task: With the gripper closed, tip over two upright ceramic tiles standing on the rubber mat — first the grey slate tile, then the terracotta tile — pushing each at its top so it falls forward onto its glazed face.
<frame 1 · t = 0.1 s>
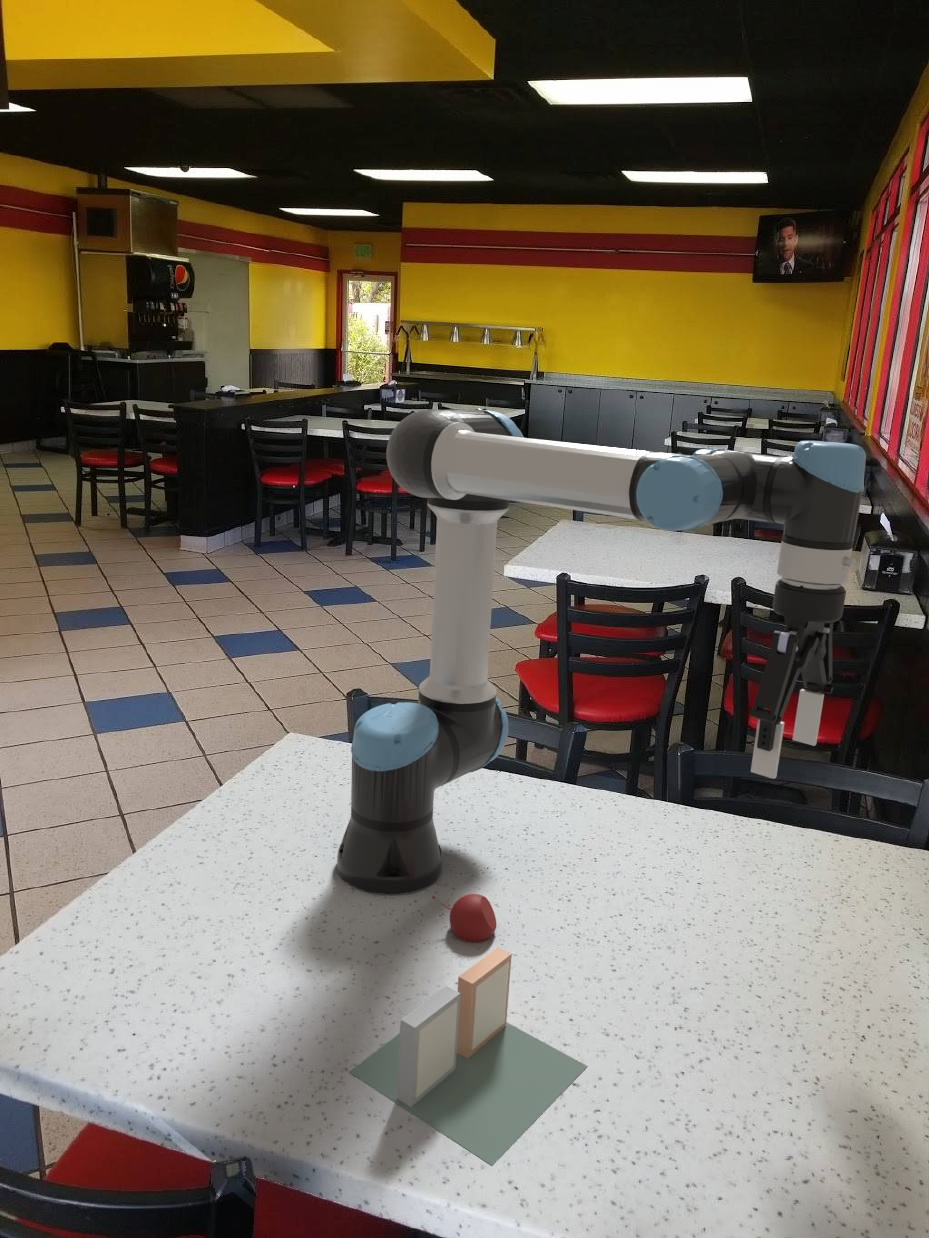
hand: (784, 757, 113), 28 cm above the table, fingers open, 13 cm apart
slate tile: (426, 1083, 96), point 1 cm above the table, touching mat
fruit: (462, 935, 123), on the table
mat: (469, 1073, 99), on the table
terracotta tile: (480, 1037, 103), point 1 cm above the table, touching mat
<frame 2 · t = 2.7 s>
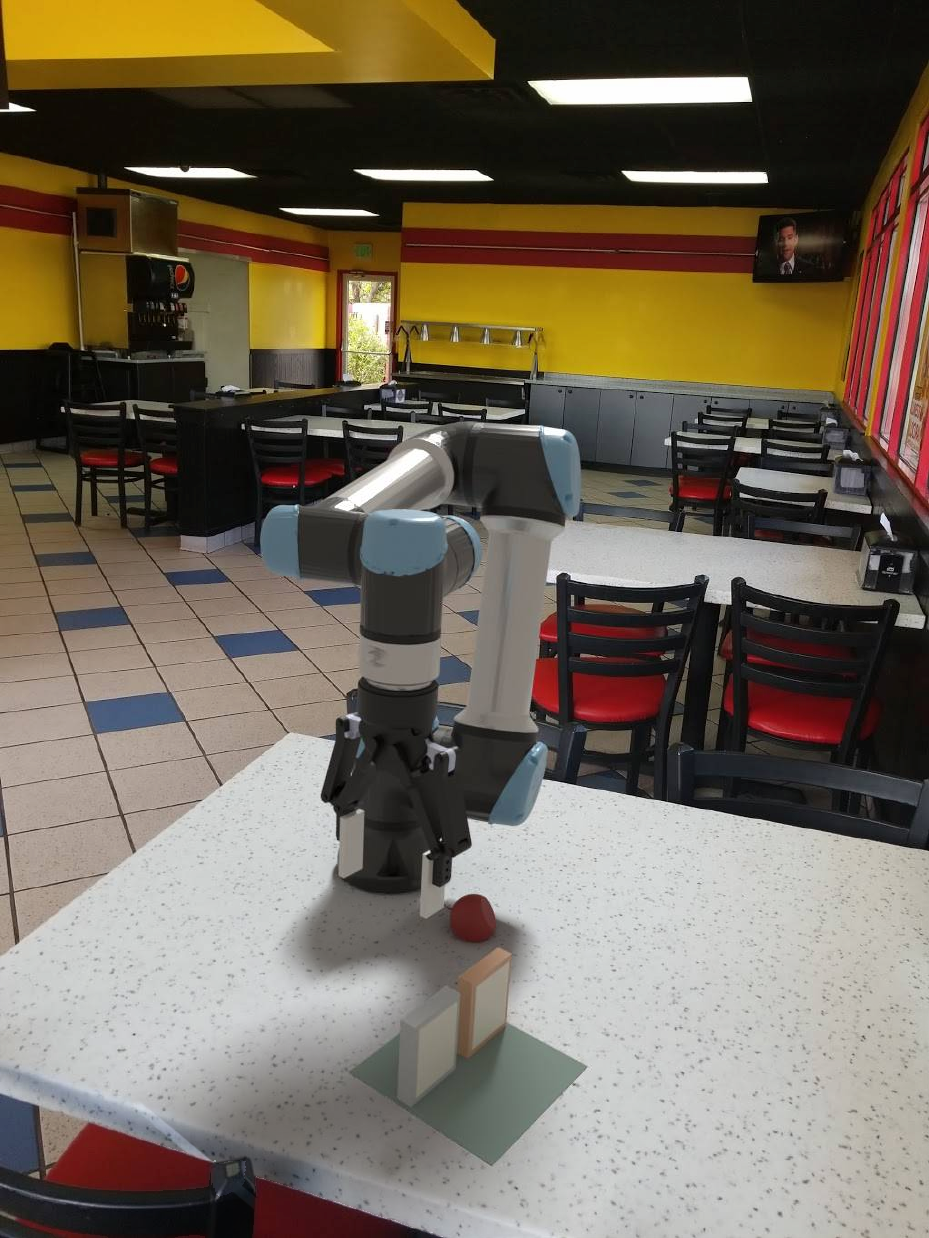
hand: (389, 891, 95), 20 cm above the table, fingers open, 10 cm apart
nothing on the table moved.
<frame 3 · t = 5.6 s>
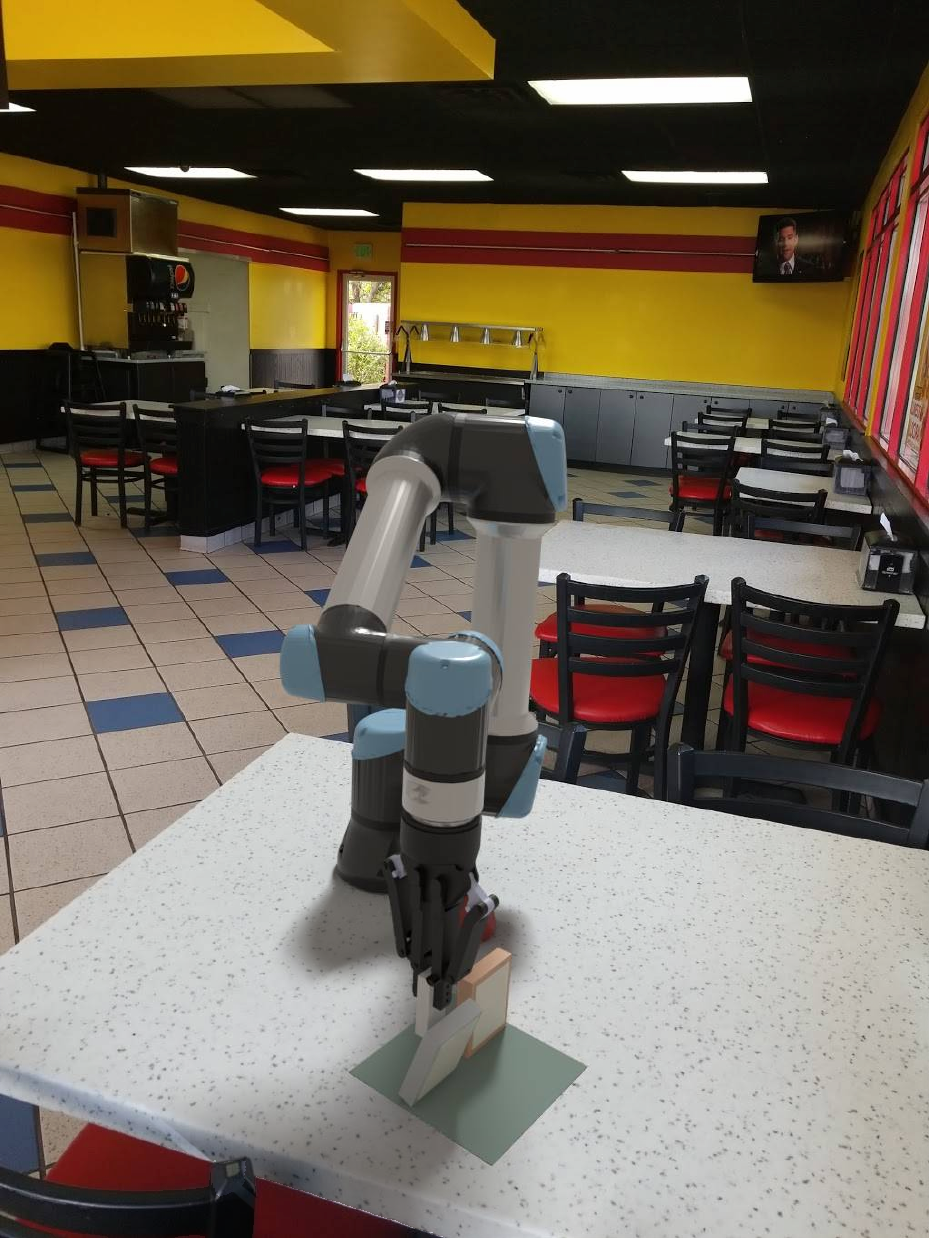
hand: (429, 1029, 94), 7 cm above the table, fingers closed
slate tile: (427, 1081, 96), point 1 cm above the table, tilted 19°, touching mat
everything else where it was.
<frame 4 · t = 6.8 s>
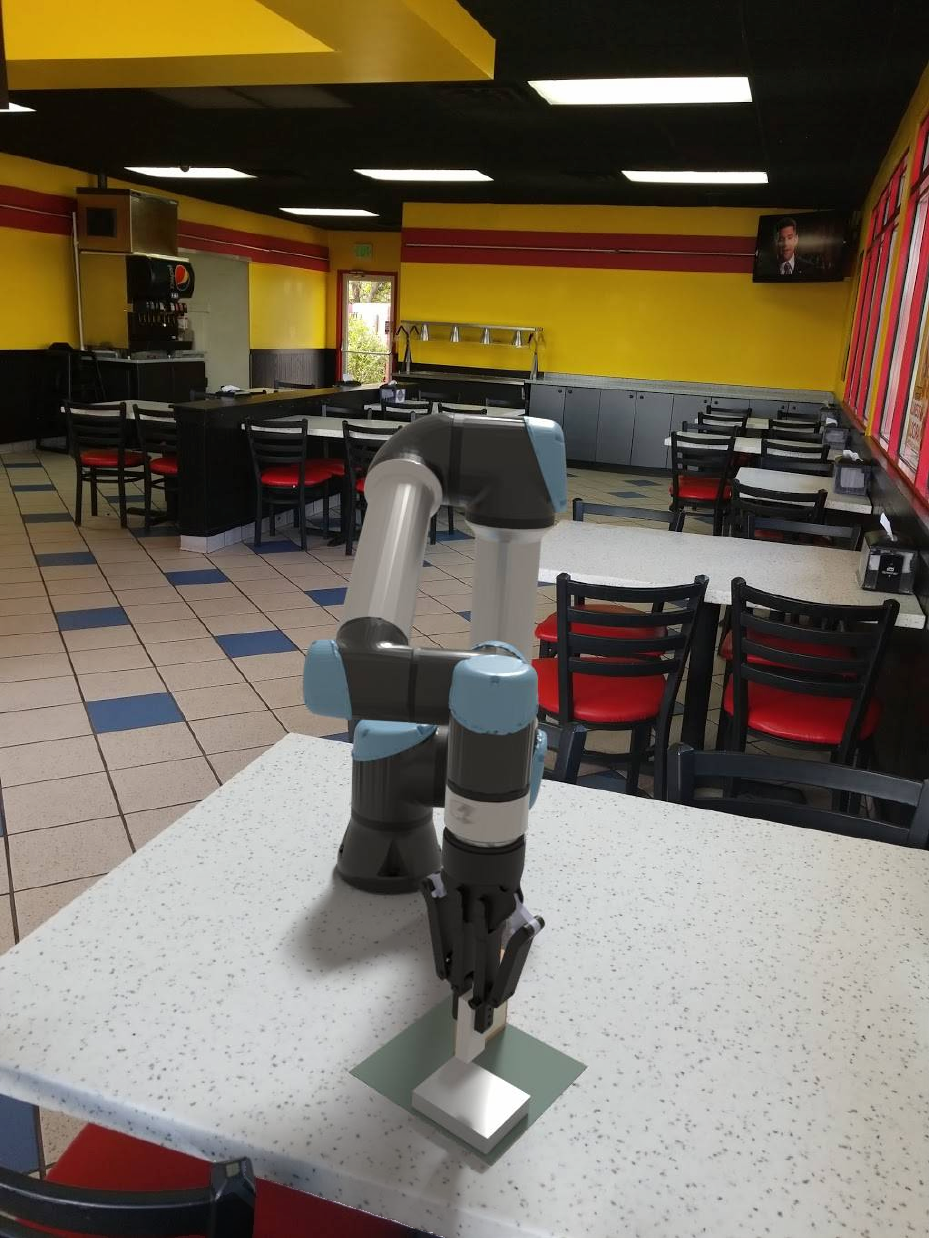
hand: (469, 1052, 92), 7 cm above the table, fingers closed
slate tile: (435, 1079, 95), point 2 cm above the table, tilted 90°, touching mat
everything else where it was.
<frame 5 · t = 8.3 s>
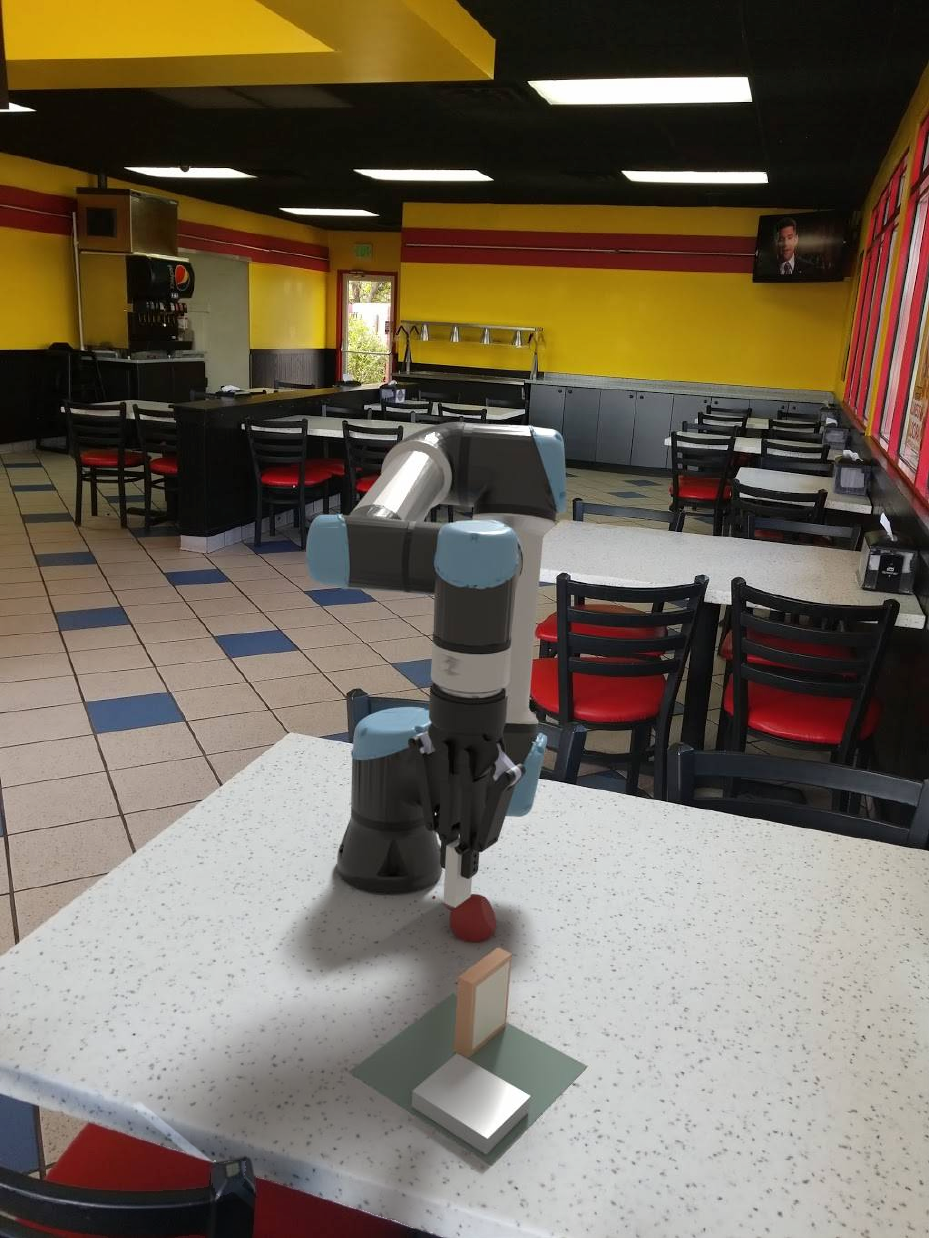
hand: (457, 899, 99), 17 cm above the table, fingers closed
nothing on the table moved.
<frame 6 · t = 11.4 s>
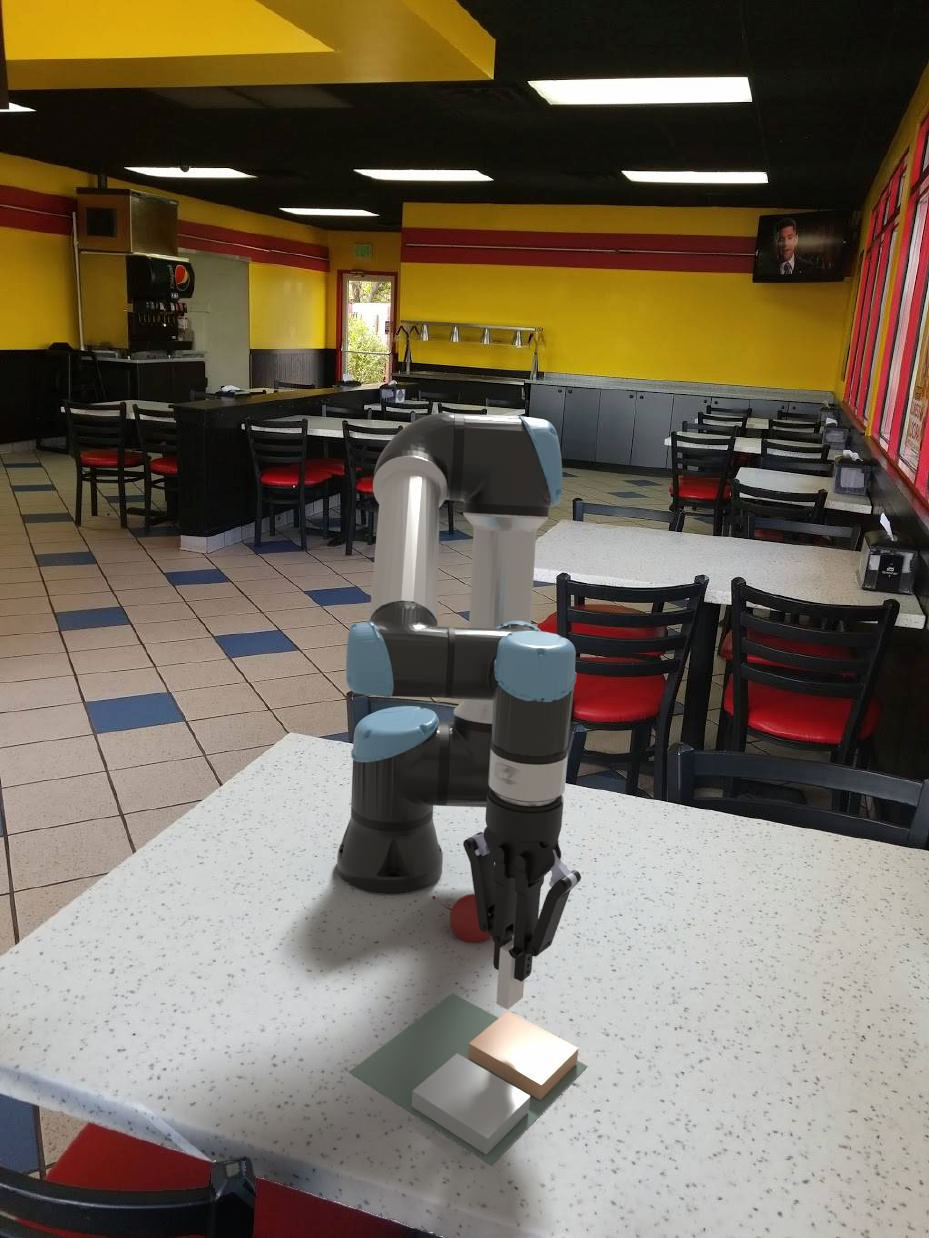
hand: (509, 1000, 99), 7 cm above the table, fingers closed
terracotta tile: (488, 1033, 102), point 2 cm above the table, tilted 90°, touching mat
everything else where it was.
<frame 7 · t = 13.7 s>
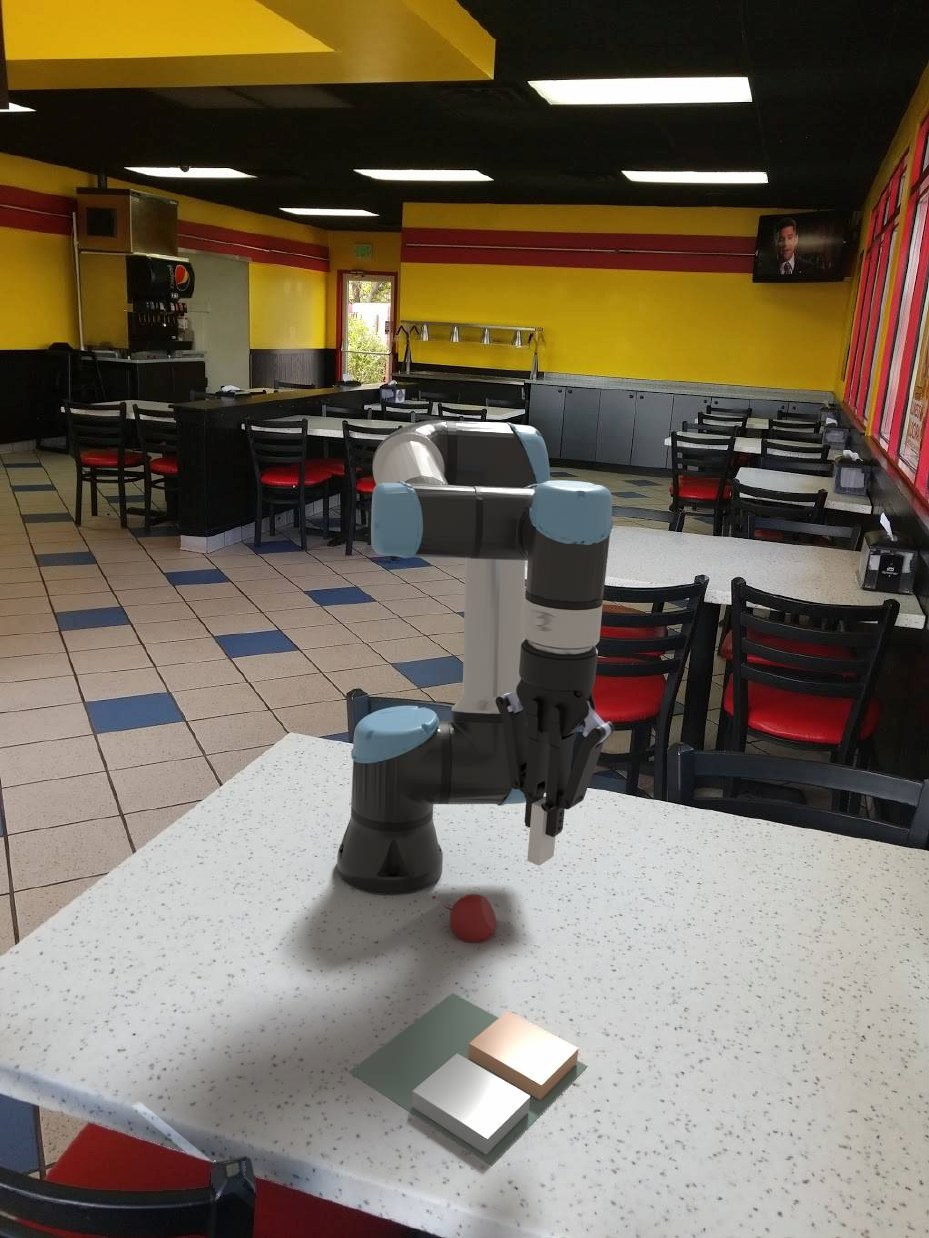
hand: (540, 858, 100), 21 cm above the table, fingers closed
nothing on the table moved.
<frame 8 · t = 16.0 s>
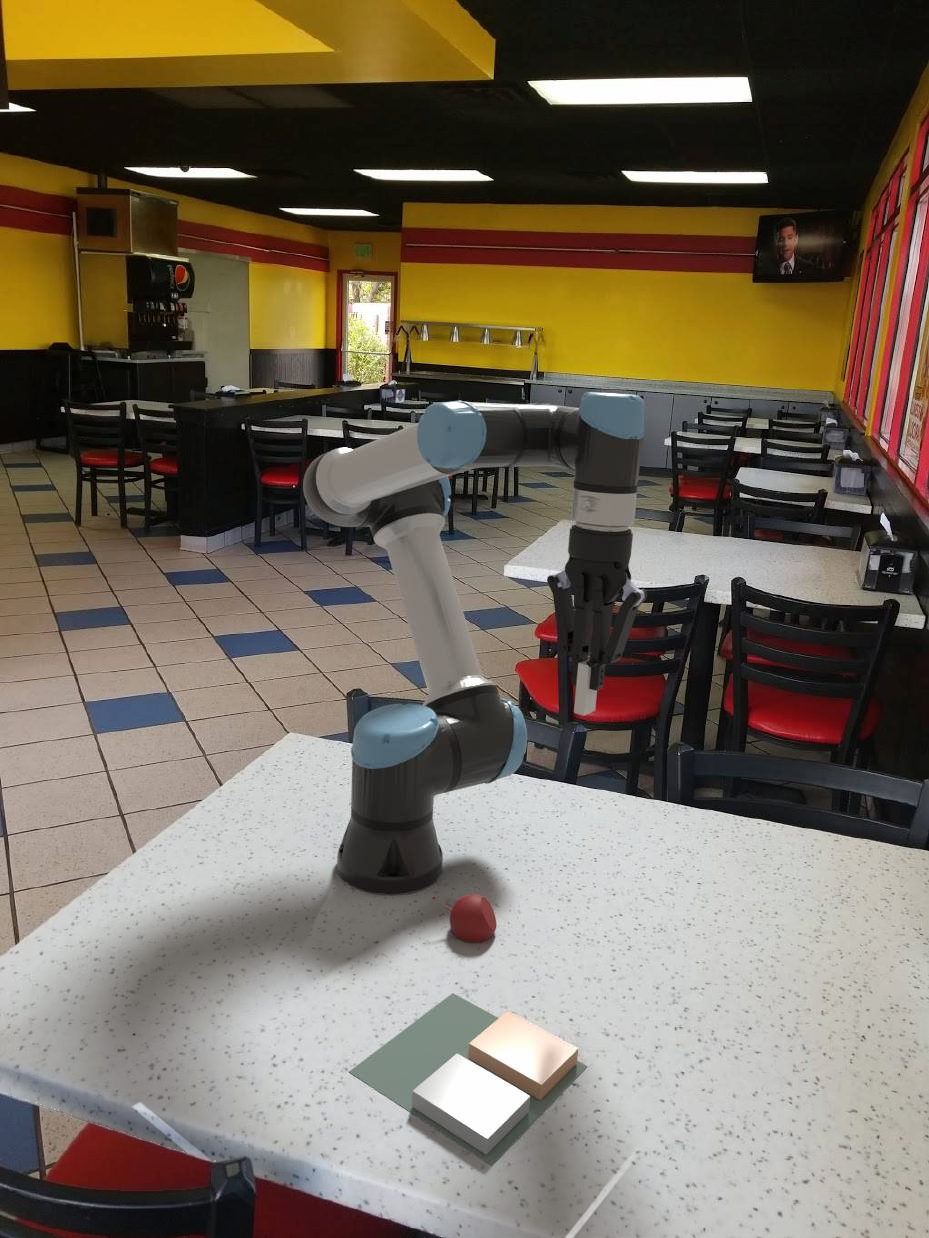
hand: (584, 711, 120), 29 cm above the table, fingers closed
nothing on the table moved.
at the end: slate tile tilted 90°; terracotta tile tilted 90°; slate tile inside the target area on the mat (4.7 cm from its centre), point 1.6 cm above the mat's base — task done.
